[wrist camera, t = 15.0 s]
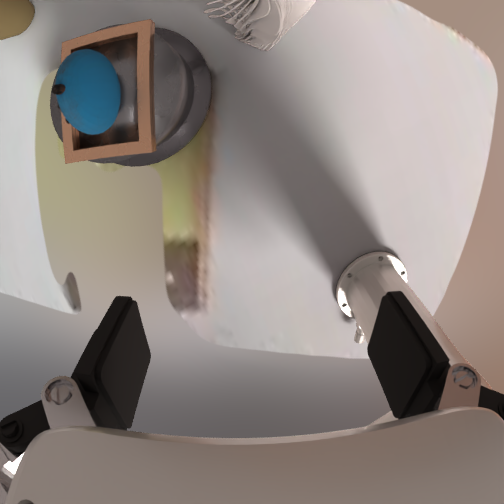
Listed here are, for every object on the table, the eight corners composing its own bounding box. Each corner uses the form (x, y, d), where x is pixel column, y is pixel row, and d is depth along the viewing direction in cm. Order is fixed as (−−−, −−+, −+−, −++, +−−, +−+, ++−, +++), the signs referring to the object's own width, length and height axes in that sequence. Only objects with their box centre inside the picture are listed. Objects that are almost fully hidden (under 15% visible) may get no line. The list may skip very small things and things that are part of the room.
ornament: (84, 64, 22) (26, 54, 13) (123, 49, 22) (73, 28, 13) (95, 137, 26) (39, 152, 17) (135, 124, 26) (87, 132, 17)
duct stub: (213, 160, 37) (201, 179, 27) (83, 171, 37) (38, 193, 27) (212, 21, 29) (200, -11, 19) (79, 46, 29) (32, 33, 18)
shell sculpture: (243, -4, 27) (243, -76, 11) (299, 24, 29) (341, -33, 13) (210, 43, 30) (183, -8, 14) (267, 72, 32) (288, 37, 16)
